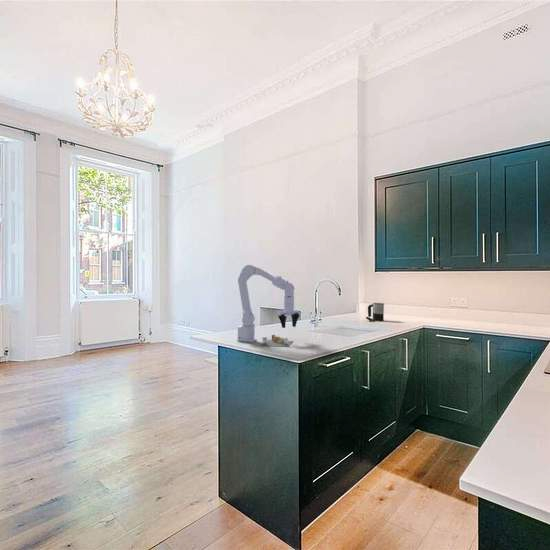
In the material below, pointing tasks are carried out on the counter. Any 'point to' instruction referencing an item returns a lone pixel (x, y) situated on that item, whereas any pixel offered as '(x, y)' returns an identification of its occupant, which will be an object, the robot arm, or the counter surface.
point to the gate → (277, 339)
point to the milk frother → (376, 312)
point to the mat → (276, 343)
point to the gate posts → (266, 341)
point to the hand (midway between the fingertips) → (288, 327)
